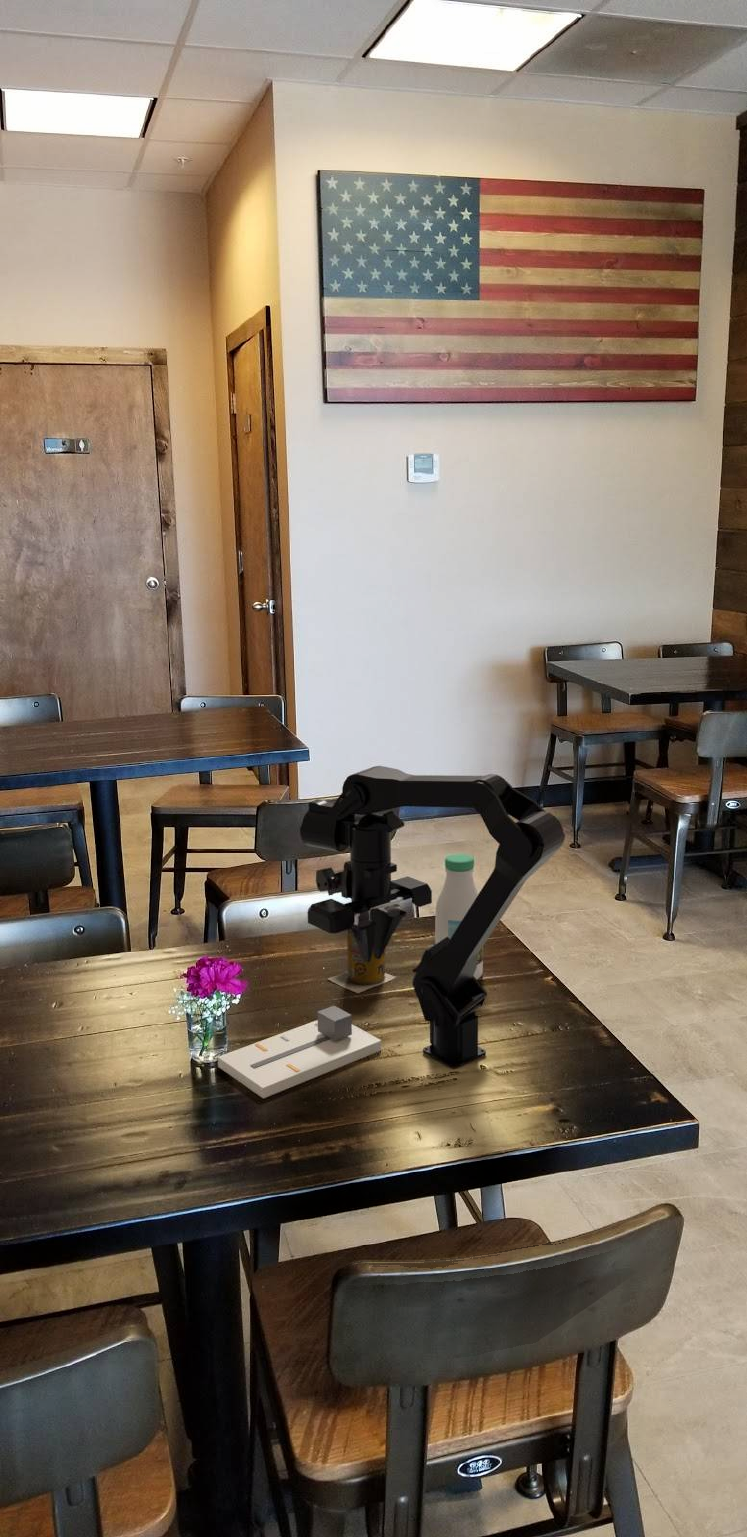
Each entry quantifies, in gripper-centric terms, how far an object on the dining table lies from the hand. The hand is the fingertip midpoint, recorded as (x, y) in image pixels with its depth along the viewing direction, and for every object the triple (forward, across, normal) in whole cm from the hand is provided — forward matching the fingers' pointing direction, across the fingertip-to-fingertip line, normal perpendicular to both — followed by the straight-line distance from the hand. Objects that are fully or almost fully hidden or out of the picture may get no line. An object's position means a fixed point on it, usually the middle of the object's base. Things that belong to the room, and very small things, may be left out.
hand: (372, 960), depth 162 cm
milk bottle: (+11, -23, -6) cm, 26 cm away
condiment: (+11, -10, -15) cm, 21 cm away
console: (+11, +13, 0) cm, 17 cm away
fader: (+9, +7, 0) cm, 11 cm away
